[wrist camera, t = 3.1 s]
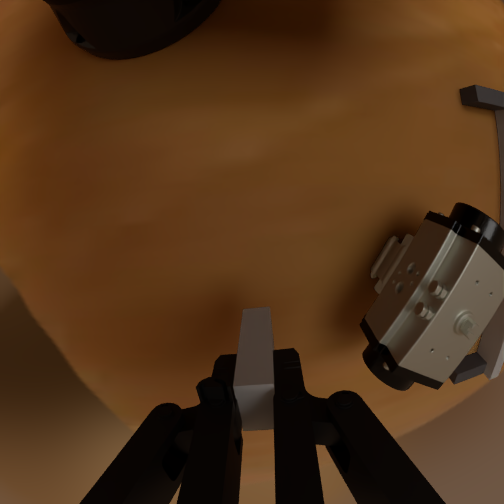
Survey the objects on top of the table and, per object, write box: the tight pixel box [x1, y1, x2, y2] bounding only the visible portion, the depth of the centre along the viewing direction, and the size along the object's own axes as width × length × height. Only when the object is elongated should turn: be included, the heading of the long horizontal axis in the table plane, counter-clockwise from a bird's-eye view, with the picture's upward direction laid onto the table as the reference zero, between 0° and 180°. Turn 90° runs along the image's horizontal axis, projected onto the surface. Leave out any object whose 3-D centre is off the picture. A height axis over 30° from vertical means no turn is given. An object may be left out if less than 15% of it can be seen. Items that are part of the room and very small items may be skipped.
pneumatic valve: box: [360, 202, 504, 391], centre depth 18 cm, size 6×12×12 cm, turn 153°
